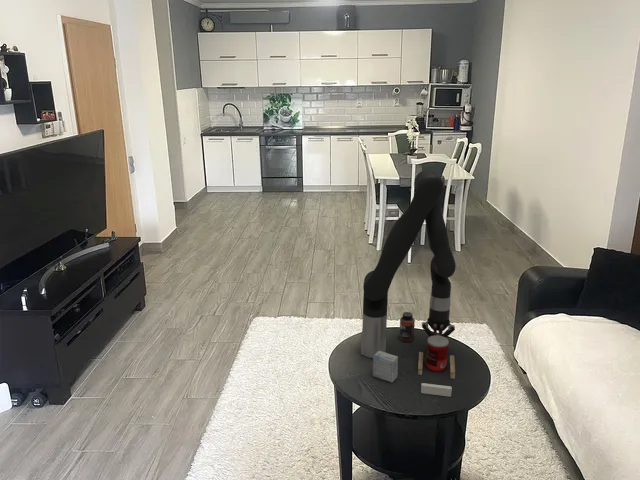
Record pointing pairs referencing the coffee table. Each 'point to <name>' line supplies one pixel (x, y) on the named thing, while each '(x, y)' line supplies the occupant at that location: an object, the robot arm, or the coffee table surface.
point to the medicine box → (385, 366)
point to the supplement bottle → (407, 327)
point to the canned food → (437, 353)
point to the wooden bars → (452, 365)
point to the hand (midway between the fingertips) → (436, 346)
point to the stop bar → (436, 389)
